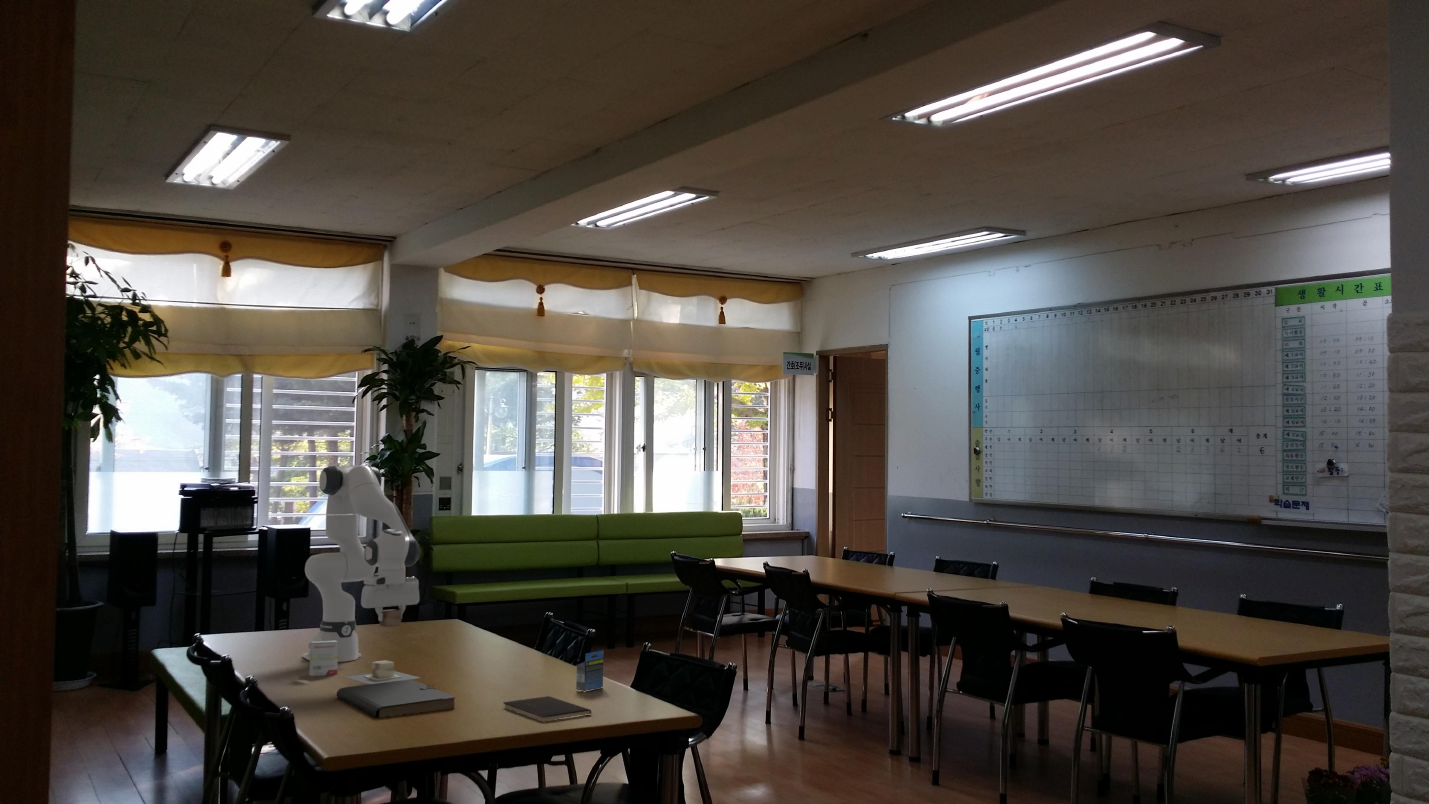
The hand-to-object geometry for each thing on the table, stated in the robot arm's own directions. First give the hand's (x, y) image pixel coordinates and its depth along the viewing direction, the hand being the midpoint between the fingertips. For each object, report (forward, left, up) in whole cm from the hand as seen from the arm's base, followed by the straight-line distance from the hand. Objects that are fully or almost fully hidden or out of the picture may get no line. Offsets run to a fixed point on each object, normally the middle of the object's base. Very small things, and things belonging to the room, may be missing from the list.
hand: (390, 619), depth 362 cm
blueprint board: (+1, -2, -20) cm, 20 cm away
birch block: (+1, -2, -19) cm, 19 cm away
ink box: (-18, -13, -20) cm, 30 cm away
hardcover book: (+75, +7, -20) cm, 78 cm away
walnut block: (0, 0, -2) cm, 2 cm away
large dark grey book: (+35, -18, -20) cm, 44 cm away
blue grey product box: (+59, +38, -20) cm, 72 cm away
